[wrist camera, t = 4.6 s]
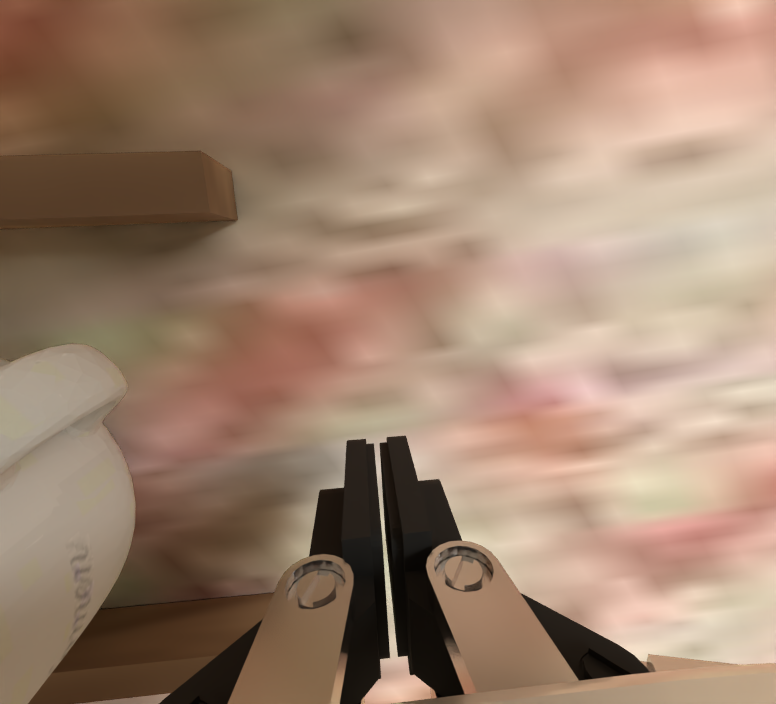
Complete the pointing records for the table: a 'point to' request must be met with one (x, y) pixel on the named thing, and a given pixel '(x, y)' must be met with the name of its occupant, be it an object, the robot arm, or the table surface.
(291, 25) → the table surface
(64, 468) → the teacup
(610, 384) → the table surface
